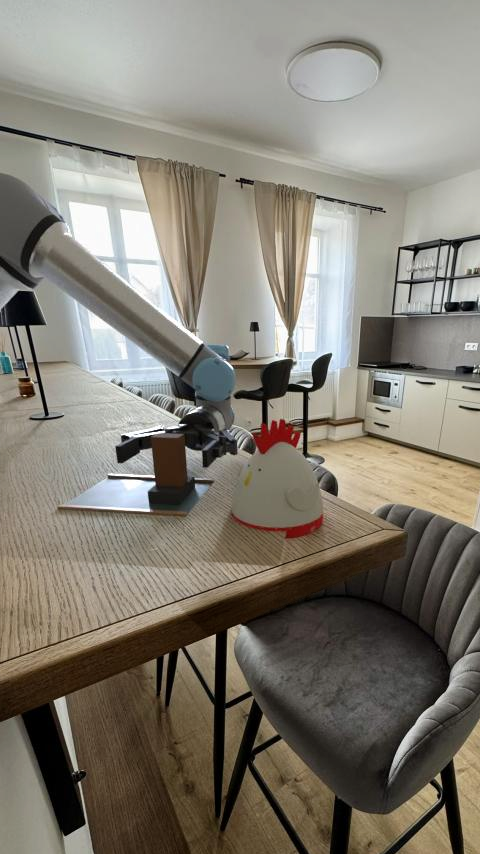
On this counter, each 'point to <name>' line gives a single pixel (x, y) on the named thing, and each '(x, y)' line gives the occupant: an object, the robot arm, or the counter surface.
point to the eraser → (170, 470)
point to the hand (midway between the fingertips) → (161, 457)
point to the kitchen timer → (278, 486)
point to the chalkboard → (133, 496)
